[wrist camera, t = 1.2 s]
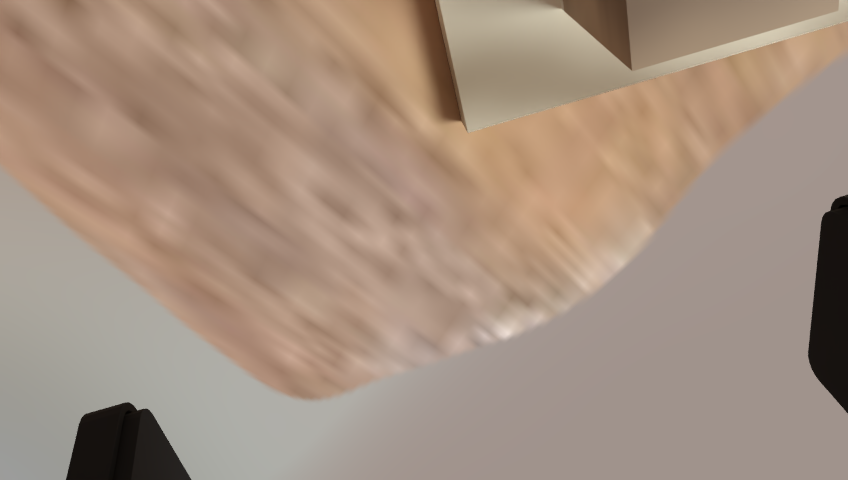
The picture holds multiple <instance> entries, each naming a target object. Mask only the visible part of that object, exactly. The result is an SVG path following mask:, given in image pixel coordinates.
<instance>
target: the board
mask: <svg viewBox="0 0 848 480" xmlns="http://www.w3.org/2000/svg"><path fill="white" fill-rule="evenodd" d="M435 3H436V7H437V12H438V16H439V21H440V25H441V30H442V34H443V39H444V43H445V48H446V53H447V57H448V62H449V66H450V71H451V75H452V80H453V84H454V89H455V93H456V98H457V102H458V107H459V111H460V116H461V120H462V123H463V125H464V127H465V128H466V130H467V132H468V133H470V132H473V131H476V130H480V129H483V128H487V127H490V126H493V125H497V124H500V123H504V122H507V121H510V120H514V119H517V118H521V117H524V116H527V115H531V114H534V113H538V112H541V111H544V110H548V109H551V108H555V107H558V106H561V105H565V104H568V103H572V102H575V101H578V100H582V99H585V98H589V97H592V96H595V95H599V94H602V93H606V92H609V91H612V90H616V89H619V88H623V87H626V86H629V85H633V84H636V83H640V82H643V81H646V80H650V79H653V78H657V77H660V76H663V75H667V74H670V73H674V72H677V71H680V70H684V69H687V68H691V67H694V66H697V65H701V64H704V63H708V62H711V61H714V60H718V59H721V58H725V57H728V56H731V55H735V54H738V53H742V52H745V51H748V50H752V49H755V48H759V47H762V46H765V45H769V44H772V43H776V42H779V41H782V40H786V39H789V38H793V37H796V36H799V35H803V34H806V33H810V32H813V31H816V30H820V29H823V28H827V27H830V26H833V25H837V24H840V23H844V22H847V21H848V0H839V9H838V11H836V12H832V13H829V14H826V15H822V16H819V17H815V18H812V19H809V20H805V21H802V22H798V23H795V24H792V25H788V26H785V27H781V28H778V29H775V30H771V31H768V32H764V33H761V34H757V35H754V36H751V37H747V38H744V39H740V40H737V41H734V42H730V43H727V44H723V45H720V46H717V47H713V48H710V49H706V50H703V51H700V52H696V53H693V54H689V55H686V56H683V57H679V58H676V59H672V60H669V61H666V62H662V63H659V64H655V65H652V66H648V67H645V68H642V69H638V70H635V71H631V70H630V69H629V68H628V67H627V66H626V65H624V64H623V63H622V62H621V61H620V60H619V59H618V58H616V57H615V56H614V55H613V54H612V53H611V52H610V51H609V50H607V49H606V48H605V47H604V46H603V45H602V44H601V43H599V42H598V41H597V40H596V39H595V38H594V37H593V36H592V35H590V34H589V33H588V32H587V31H586V30H585V29H584V28H582V27H581V26H580V25H579V24H578V23H577V22H576V21H575V20H573V19H572V18H571V17H570V16H569V15H568V14H567V13H566V12H564V11H563V10H562V9H561V2H560V0H435Z"/></svg>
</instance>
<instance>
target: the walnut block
mask: <svg viewBox="0 0 848 480" xmlns="http://www.w3.org/2000/svg"><path fill="white" fill-rule="evenodd" d="M560 2H561V9H562V10H563V11H564V12H566V13H567V14H568V15H569V16H570V17H571V18H572V19H573V20H575V21H576V22H577V23H578V24H579V25H580V26H581V27H582V28H584V29H585V30H586V31H587V32H588V33H589V34H590V35H592V36H593V37H594V38H595V39H596V40H597V41H598V42H599V43H601V44H602V45H603V46H604V47H605V48H606V49H607V50H609V51H610V52H611V53H612V54H613V55H614V56H615V57H616V58H618V59H619V60H620V61H621V62H622V63H623V64H624V65H626V66H627V67H628V68H629V69H630V70H631V71H635V70H638V69H642V68H645V67H648V66H652V65H655V64H659V63H662V62H666V61H669V60H672V59H676V58H679V57H683V56H686V55H689V54H693V53H696V52H700V51H703V50H706V49H710V48H713V47H717V46H720V45H723V44H727V43H730V42H734V41H737V40H740V39H744V38H747V37H751V36H754V35H757V34H761V33H764V32H768V31H771V30H775V29H778V28H781V27H785V26H788V25H792V24H795V23H798V22H802V21H805V20H809V19H812V18H815V17H819V16H822V15H826V14H829V13H832V12H836V11H838V9H839V0H560Z"/></svg>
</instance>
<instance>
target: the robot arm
mask: <svg viewBox="0 0 848 480" xmlns="http://www.w3.org/2000/svg"><path fill="white" fill-rule="evenodd" d="M808 357H809V362H810V365H811V368H812V370H813V372H814V374H815V375H816V377H817V378H818V380H819V381H820V382H821V383H822V384H823V385H824V387H825V388H826V389H827V390H828V391H829V392H830V393H831V394H832V396H833V397H834V398H835V399H836V400H837V402H838V403H839V404H840V405H841V406H842V407H843V408H844V410H845V411H846V412H847V413H848V195H845V196H842V197H839V198H837V199H835V201H834V202H833V203H832V206H831V210H830V211H829V212H826V213H825V214H824V216H823V217H822V222H821V231H820V241H819V251H818V261H817V271H816V281H815V290H814V301H813V311H812V320H811V330H810V341H809V350H808ZM66 480H191V478H190V477H189V475H188V473H187V472H186V470H185V468H184V467H183V465H182V463H181V462H180V460H179V458H178V456H177V455H176V453H175V451H174V450H173V448H172V446H171V445H170V443H169V441H168V440H167V438H166V436H165V434H164V433H163V431H162V430H161V428H160V426H159V424H158V423H157V421H156V419H155V417H154V416H153V414H152V413H151V412H150V410H148V409H142V410H138V411H137V409H136V408H135V407H134V406H133V405H132V404H131V403H122V404H119V405H115V406H112V407H109V408H105V409H102V410H98V411H95V412H91V413H88V414H85V415H84V416H83V417H82V418H81V421H80V423H79V427H78V431H77V436H76V440H75V444H74V448H73V452H72V457H71V461H70V465H69V469H68V474H67V478H66Z"/></svg>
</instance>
